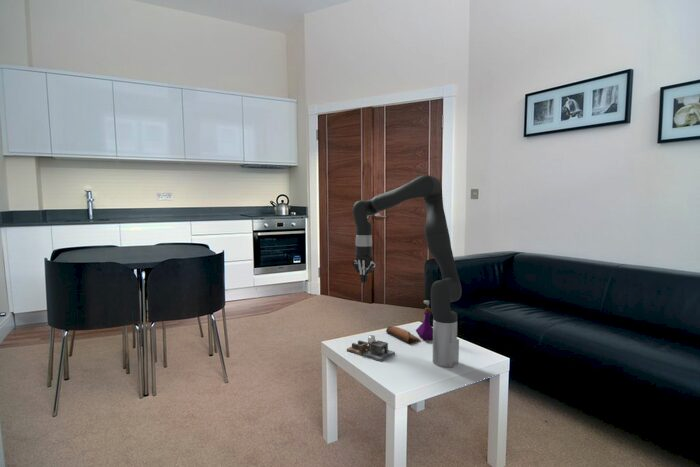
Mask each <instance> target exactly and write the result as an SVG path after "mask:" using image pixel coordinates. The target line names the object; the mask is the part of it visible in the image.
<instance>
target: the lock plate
mask: <svg viewBox="0 0 700 467" xmlns="http://www.w3.org/2000/svg"><path fill="white" fill-rule="evenodd" d="M366 345H368V341H367V342H366V341H363V340H357V343H356V342H353V343H351V346H350V347H347V348H346V352H349V353H353V354H355V355H358V356H363V357H365V358H368V359H372V360H375V361H378V362H383V361H385V360H387V359H389V358H391V357H392V356H395V354H396V353H395V351H393V350H390V349H389V343H388V342H386V341H383V340H376V339H375V342H373V343H371V351H370V350H366ZM382 348H385V353H383V354H382Z"/></svg>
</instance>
